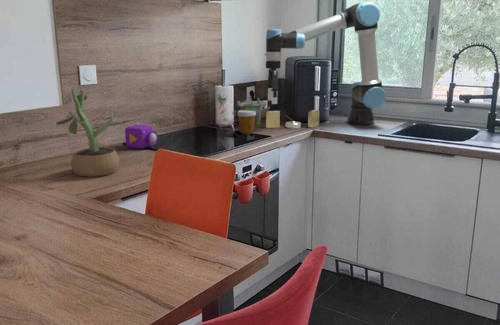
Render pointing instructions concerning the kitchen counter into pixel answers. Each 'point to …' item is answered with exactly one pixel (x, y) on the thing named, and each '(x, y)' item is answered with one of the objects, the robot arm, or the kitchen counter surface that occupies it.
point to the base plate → (293, 124)
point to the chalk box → (257, 109)
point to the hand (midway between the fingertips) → (272, 102)
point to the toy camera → (140, 136)
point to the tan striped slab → (272, 119)
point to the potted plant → (91, 145)
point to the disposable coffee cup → (246, 121)
